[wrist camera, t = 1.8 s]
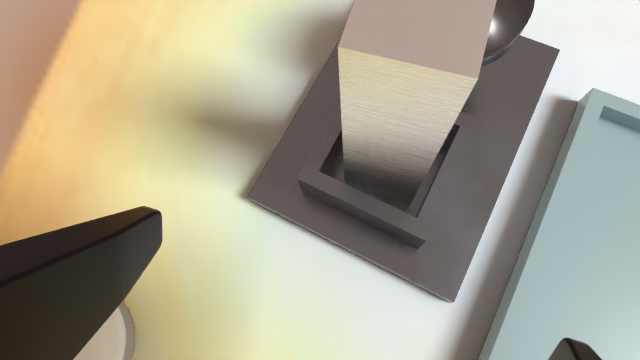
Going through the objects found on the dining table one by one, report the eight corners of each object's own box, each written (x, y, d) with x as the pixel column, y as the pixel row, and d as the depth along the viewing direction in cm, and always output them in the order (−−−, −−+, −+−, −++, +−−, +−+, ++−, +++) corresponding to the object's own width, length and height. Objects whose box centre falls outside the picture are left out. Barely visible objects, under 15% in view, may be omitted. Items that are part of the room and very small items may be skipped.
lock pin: (409, 205, 22) (478, 79, 10) (344, 186, 23) (337, 46, 11) (425, 144, 23) (505, -35, 11) (363, 128, 24) (375, -59, 12)
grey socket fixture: (450, 302, 21) (493, 297, 15) (250, 200, 24) (212, 158, 17) (553, 57, 25) (623, -32, 19) (372, -9, 27) (379, -108, 21)
